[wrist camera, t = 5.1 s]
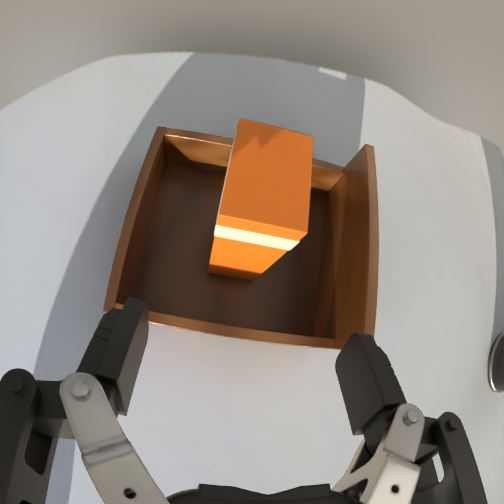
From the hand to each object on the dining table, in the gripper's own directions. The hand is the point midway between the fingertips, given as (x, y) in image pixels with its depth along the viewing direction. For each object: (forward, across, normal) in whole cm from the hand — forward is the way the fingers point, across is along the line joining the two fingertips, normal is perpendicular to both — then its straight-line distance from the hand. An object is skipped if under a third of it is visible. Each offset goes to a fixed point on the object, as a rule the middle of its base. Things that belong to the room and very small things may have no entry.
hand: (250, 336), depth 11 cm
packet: (+15, 0, +4) cm, 15 cm away
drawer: (+15, 0, +4) cm, 16 cm away
